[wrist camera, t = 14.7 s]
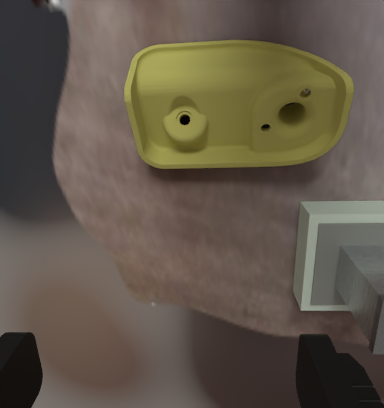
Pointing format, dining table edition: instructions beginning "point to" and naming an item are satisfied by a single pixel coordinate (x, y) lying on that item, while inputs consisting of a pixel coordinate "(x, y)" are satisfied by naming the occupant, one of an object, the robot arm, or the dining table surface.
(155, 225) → the dining table surface
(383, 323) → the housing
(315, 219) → the stand
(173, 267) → the dining table surface
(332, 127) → the plastic component
